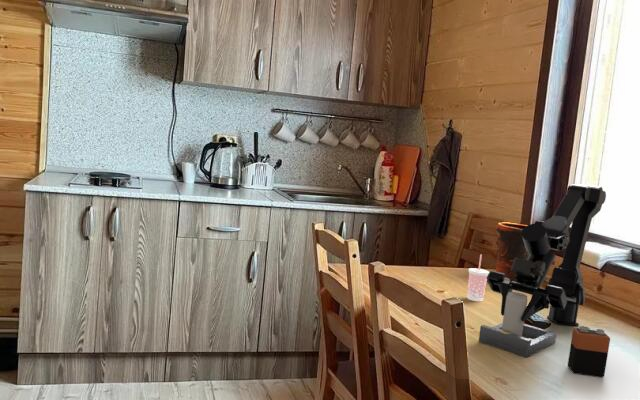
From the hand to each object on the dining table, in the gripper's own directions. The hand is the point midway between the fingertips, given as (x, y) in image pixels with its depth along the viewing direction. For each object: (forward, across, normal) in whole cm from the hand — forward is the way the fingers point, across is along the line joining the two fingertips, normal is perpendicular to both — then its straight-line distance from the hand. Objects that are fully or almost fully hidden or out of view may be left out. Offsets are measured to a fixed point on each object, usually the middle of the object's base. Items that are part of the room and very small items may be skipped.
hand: (511, 317), depth 148 cm
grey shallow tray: (+2, 0, +8) cm, 9 cm away
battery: (+5, +18, +5) cm, 20 cm away
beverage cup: (-18, -26, +29) cm, 43 cm away
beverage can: (+4, 0, +6) cm, 7 cm away
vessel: (-44, -32, +56) cm, 77 cm away
